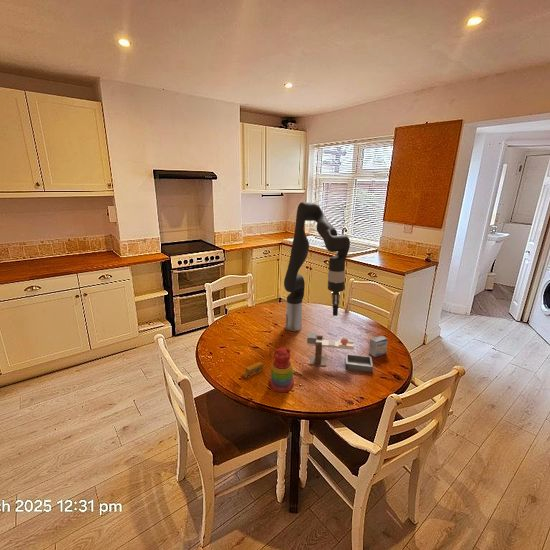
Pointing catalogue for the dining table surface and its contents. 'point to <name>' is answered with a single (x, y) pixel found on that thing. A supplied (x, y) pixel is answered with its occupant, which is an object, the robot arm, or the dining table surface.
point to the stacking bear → (281, 371)
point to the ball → (344, 341)
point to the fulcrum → (318, 355)
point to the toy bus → (253, 369)
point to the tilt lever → (328, 342)
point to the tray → (359, 363)
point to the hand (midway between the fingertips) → (335, 315)
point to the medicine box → (378, 346)
